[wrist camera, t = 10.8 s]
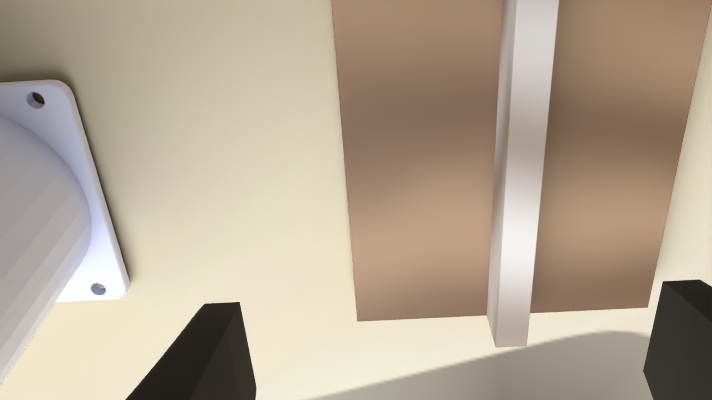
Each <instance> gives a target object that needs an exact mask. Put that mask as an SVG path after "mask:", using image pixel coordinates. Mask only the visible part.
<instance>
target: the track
mask: <svg viewBox="0 0 712 400" xmlns="http://www.w3.org/2000/svg"><path fill="white" fill-rule="evenodd" d="M331 1H332V14H333V26H334V38H335V51H336V63H337V76H338V88H339V100H340V113H341V125H342V137H343V150H344V162H345V174H346V187H347V199H348V212H349V224H350V236H351V249H352V261H353V273H354V286H355V298H356V310H357V321H377V320H397V319H418V318H439V317H460V316H481V315H487V317H488V321H489V325H490V328H491V332H492V336H493V339H494V343H495V347H516V346H527V337H528V326H529V316H530V313H543V312H564V311H585V310H606V309H627V308H648V303H649V299H650V294H651V289H652V284H653V280H654V275H655V270H656V265H657V261H658V256H659V251H660V246H661V242H662V237H663V232H664V227H665V223H666V218H667V213H668V208H669V204H670V199H671V194H672V189H673V185H674V180H675V175H676V170H677V166H678V161H679V156H680V151H681V147H682V142H683V137H684V132H685V128H686V123H687V118H688V113H689V109H690V104H691V99H692V94H693V90H694V85H695V80H696V75H697V71H698V66H699V61H700V56H701V52H702V47H703V42H704V37H705V33H706V28H707V23H708V18H709V14H710V9H711V4H712V0H331Z"/></svg>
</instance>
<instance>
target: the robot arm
mask: <svg viewBox="0 0 712 400" xmlns="http://www.w3.org/2000/svg"><path fill="white" fill-rule="evenodd" d="M32 92H36V93H38V94H40V95H41V96H42V97H43V99H44V102H45V104H40V103H38V102H36V101H35V100H34V98H33V96H32ZM95 283H98V284H101V285H103V286H104V287H105V288H100V287H98V286H97V285H96V284H95ZM129 287H130V282H129V278H128V275H127V272H126V268H125V265H124V262H123V258H122V255H121V252H120V248H119V245H118V242H117V238H116V235H115V232H114V228H113V225H112V222H111V218H110V215H109V212H108V208H107V205H106V202H105V198H104V195H103V192H102V188H101V185H100V182H99V178H98V175H97V172H96V168H95V165H94V162H93V158H92V155H91V152H90V148H89V145H88V142H87V138H86V135H85V132H84V128H83V125H82V122H81V118H80V115H79V112H78V108H77V105H76V102H75V98H74V95H73V93H72V91H71V89H70V88H69V87H68V86H67V85H66V84H65V83H63V82H61V81H59V80H52V79H51V80H35V81H19V82H2V83H0V387H1V385H2V384H3V382H4V381H5V379H6V378H7V376H8V375H9V373H10V372H11V370H12V369H13V367H14V365H15V364H16V362H17V361H18V359H19V358H20V356H21V355H22V353H23V352H24V350H25V349H26V347H27V345H28V344H29V342H30V341H31V339H32V338H33V336H34V335H35V333H36V332H37V330H38V329H39V327H40V325H41V324H42V322H43V321H44V319H45V318H46V316H47V315H48V313H49V312H50V310H51V309H52V307H53V305H54V304H55V302H66V301H86V300H106V299H119V298H122V297H123V296H125V295H126V293H127V291H128V289H129ZM643 372H644V374H645V377H646V380H647V382H648V385H649V388H650V391H651V394H652V396H653V399H654V400H712V287H711V286H709V285H708V284H706V283H704V282H703V281H701V280H683V281H663V284H662V288H661V293H660V297H659V302H658V306H657V311H656V315H655V320H654V324H653V329H652V333H651V338H650V343H649V347H648V352H647V356H646V361H645V366H644V370H643ZM255 397H256V383H255V378H254V373H253V368H252V363H251V358H250V353H249V348H248V343H247V337H246V332H245V327H244V322H243V317H242V312H241V307H240V302H232V303H211V304H204V305H203V306H202V307H201V308H200V309H199V311H198V312H197V313H196V314H195V316H194V317H193V318H192V319H191V321H190V322H189V323H188V324H187V326H186V327H185V328H184V330H183V331H182V332H181V333H180V335H179V336H178V337H177V338H176V340H175V341H174V342H173V344H172V345H171V346H170V347H169V349H168V350H167V351H166V352H165V353H164V355H163V356H162V357H161V358H160V360H159V361H158V362H157V363H156V365H155V366H154V367H153V368H152V369H151V370H150V372H149V373H148V374H147V375H146V376H145V378H144V379H143V380H142V381H141V382H140V383H139V385H138V386H137V387H136V388H135V389H134V391H133V392H132V393H131V394H130V395H129V396H128V397H127V399H126V400H255Z"/></svg>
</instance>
